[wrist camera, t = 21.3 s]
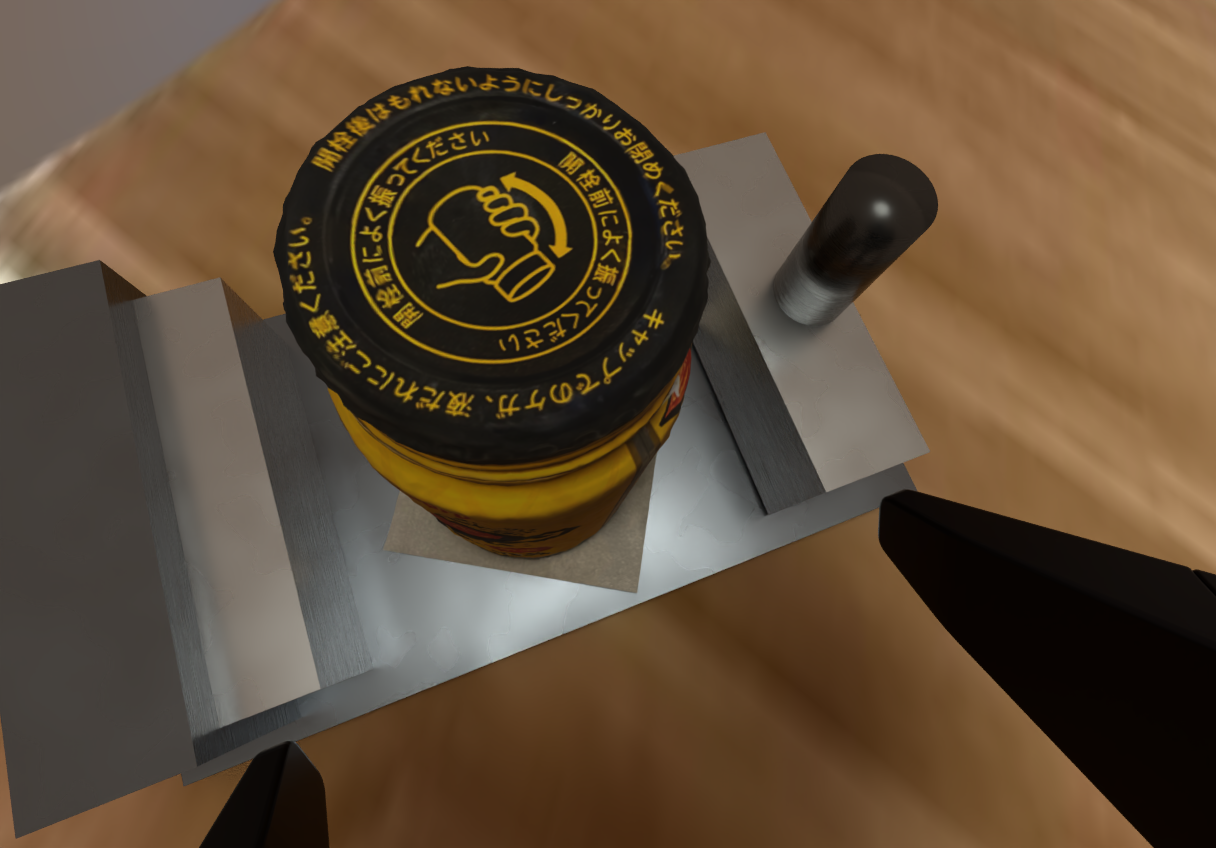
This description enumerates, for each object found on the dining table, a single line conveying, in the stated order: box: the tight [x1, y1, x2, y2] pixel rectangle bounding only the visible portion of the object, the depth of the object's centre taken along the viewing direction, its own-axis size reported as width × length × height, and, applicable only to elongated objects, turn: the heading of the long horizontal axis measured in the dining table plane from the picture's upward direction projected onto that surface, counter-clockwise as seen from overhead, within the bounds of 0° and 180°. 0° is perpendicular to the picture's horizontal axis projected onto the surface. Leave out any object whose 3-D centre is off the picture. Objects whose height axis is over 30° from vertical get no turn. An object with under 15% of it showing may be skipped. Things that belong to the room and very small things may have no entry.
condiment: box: [273, 66, 711, 593], centre depth 13 cm, size 7×8×12 cm
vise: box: [0, 260, 918, 838], centre depth 17 cm, size 22×12×6 cm, turn 111°
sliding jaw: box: [674, 133, 938, 515], centre depth 16 cm, size 3×10×8 cm, turn 21°
